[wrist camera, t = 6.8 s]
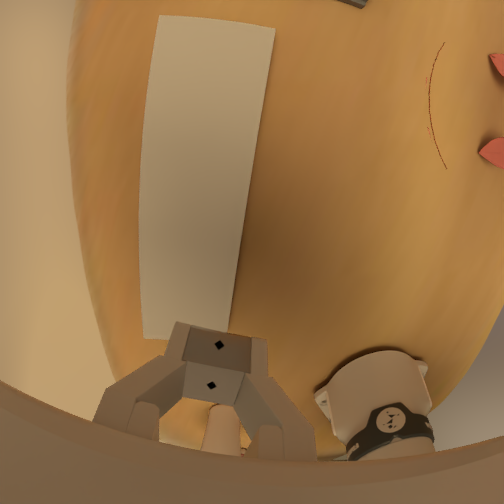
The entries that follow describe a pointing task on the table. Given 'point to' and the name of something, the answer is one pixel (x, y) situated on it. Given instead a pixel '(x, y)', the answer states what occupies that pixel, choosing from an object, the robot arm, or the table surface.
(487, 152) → the figurine
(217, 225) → the decorative molding
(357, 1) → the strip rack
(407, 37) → the table surface
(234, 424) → the drinking glass
